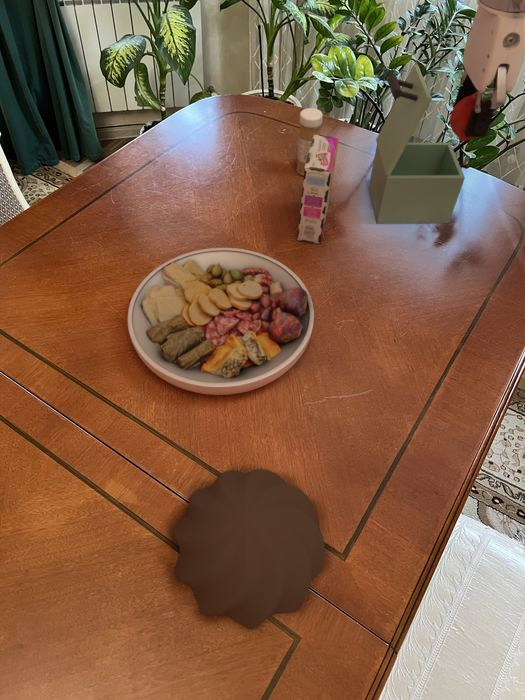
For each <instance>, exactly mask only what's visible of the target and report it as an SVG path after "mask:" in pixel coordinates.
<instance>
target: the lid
mask: <svg viewBox="0 0 525 700" xmlns="http://www.w3.org/2000/svg"><path fill="white" fill-rule="evenodd" d="M387 83H388V87H389V88H390V93H391V95H392V98H394V99H395V101H394V103H393V105H392V107H391V109H390V111H389V113H388V115H387V117H386V119H385V121H384V123H383V125H382V127H381V129H380V131H379V133H378V135H377V137H376V139H375V142H376V146H377V145H378V149H379V153H380V156H381V160H382V163H383V167H384V171H385V174H386V175H387V176H390V174H391V173H392V171H393V169H394V167H395V165H396V163H397V162H398V160H399V158H400V156H401V154H402V153H403V151H404V149H405V147H406V145H407V144H408V143H410V142H409V141H410V140H411V138H412V136H413V134H414V133H415V131H416V129H417V127H418V125H419V123H420V122H421V120H422V118H423V116H424V115H425V113H426V111H427V109H428V107H429V105H430V104H431V102H432V100H433V98H432V95H431V93H430V90H429V88H428V86H427V83H426V81H425V79H424V76H423V74H422V72H421V69H420V67H419V65H418V64H416V63H413V66H412V67H411V69H410V71H409V73H408V75H407V77H406V79H405V80H401V79H398V76H397V75H396V74H390V75H389V76H388V78H387Z"/></svg>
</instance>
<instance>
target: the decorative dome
mask: <svg viewBox="0 0 525 700" xmlns="http://www.w3.org/2000/svg"><path fill="white" fill-rule="evenodd" d="M319 523H320V518H319V516H318V513H317V511H316V508H315V506H314V504H313V503H312V500H311V499H310V498H309V496H308V495H307V494H306V493H305V492H304V491H303V490H301V488H299V487H297V486H295V485H293V484H291V483H288V482H287V481H286V480H285V479H284V478H283V477H282V476H280V475H278V474H277V473H275V472H274V471H272V470H269V469H265V468H258V469H253V470H251V471H249V472H244V471H240V470H234V469H231V470H229V469H228V470H225V471H223V472H221V473H220V474H219V475H217V477H216V479H215V480H214V481H213V483H212V484H211V485H210V486H206V487H200V488H198V489H196V490H194V491H193V492H192V493H191V494H190V496H189V500H188V511H187V514H186V515H185V516H184V517H183V518H181V520H179V521H178V522H177V523H176V524H175V525H174V527H173V529H172V536H173V537H174V540H175V542H176V544H177V545H178V547H179V552H178V555H177V559H176V562H175V565H174V569H173V572H174V575H175V576H176V578H177V579H178V580H179V581H181V582H183V583H184V584H186V586H188V587H189V588H190V589H191V590H192V593H193V595H194V598H195V602H196V605H197V607H198V610H199V612H200V614H202V615H204V616H223V617H229V618H230V619H232V620H234V622H237V623H238V624H240V625H241V626H243V627H244V628H246V629H247V630H253V629H255V628H257V627H258V626H260V625H261V624H262V623H264V622H265V621H266V620H267V619H268V618H270V617H271V616H274V615H278V614H279V615H281V614H289V613H297V612H299V610H300V609H301V607H302V606H303V604H304V603H305V601H306V598H307V596H308V593H309V591H310V588H311V583H312V582H313V580H314V579H316V577H318V575H320V574H321V573H322V571H323V570H324V568H325V558H326V548H325V541H324V536H323V534H322V531H321V529H320V525H319Z"/></svg>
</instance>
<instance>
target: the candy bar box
mask: <svg viewBox="0 0 525 700" xmlns="http://www.w3.org/2000/svg"><path fill="white" fill-rule="evenodd" d="M339 140H340V138H339V137H336V136H335V137H334V136H327V135H321V134H320V135H314V136H313V139H312V143H311V146H310V150H309V153H308V156H307V160H306V163H305V168H304V176H303V178H302V190H301V196H300V197H301V198H300V210H299V218H298V227H297V236H296V238H297V239H296V241H297V242H303V243H309V244H315V245H321V244H322V240H323V235H324V231H325V226H326V222H327V218H328V212H329V207H330V199H331V193H332V186H333V180H334V173H335V166H336V161H337V154H338V146H339Z"/></svg>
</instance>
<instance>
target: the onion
mask: <svg viewBox="0 0 525 700" xmlns="http://www.w3.org/2000/svg"><path fill="white" fill-rule="evenodd" d="M477 93H478V91H477V92H476V93H474V94H472V95H470V96H467V97H465V98H464V99H462V100H461V101H459V102H458V103H457V104H456V105H455V107H454V106H453V107H454V108H453V107H452V110H451V113H450V117H449V125H450V128H451V130H452V132H453V134H454V135H455V136H456V137H457V138H458V139H459V141H460V142H468V141H470V140H472V139H475V137H466V136H465V134H464V133H465V130H466V126H467V123H468V120H469V117H470V114H471V111H472V110H475V105H476V99H477ZM486 100H487V99H486V98H484V99H483V102H485V101H486Z"/></svg>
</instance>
